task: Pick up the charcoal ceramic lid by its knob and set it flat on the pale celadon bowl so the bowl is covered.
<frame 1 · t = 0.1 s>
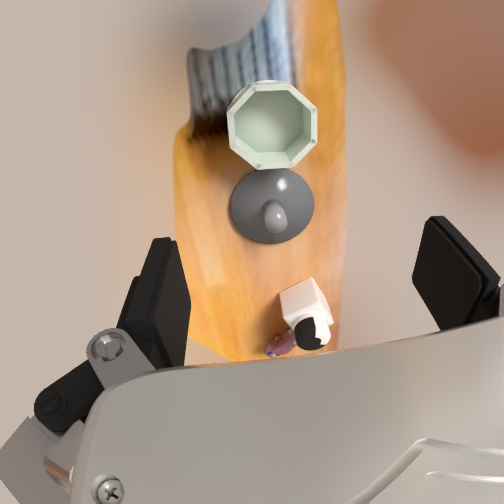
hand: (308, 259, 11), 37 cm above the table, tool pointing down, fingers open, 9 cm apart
video game controller: (284, 333, 68), on the table
lid: (272, 205, 51), on the table
medicine bottle: (302, 294, 62), on the table
bowl: (268, 118, 43), on the table
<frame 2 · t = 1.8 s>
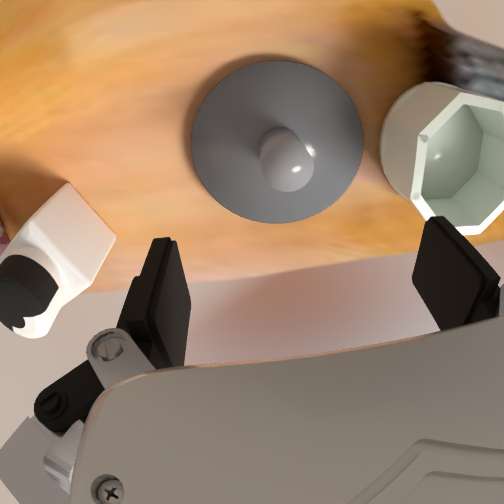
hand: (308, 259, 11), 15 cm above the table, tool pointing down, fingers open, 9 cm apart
lid: (278, 143, 24), on the table
medicine bottle: (73, 227, 27), on the table
bowl: (436, 145, 23), on the table
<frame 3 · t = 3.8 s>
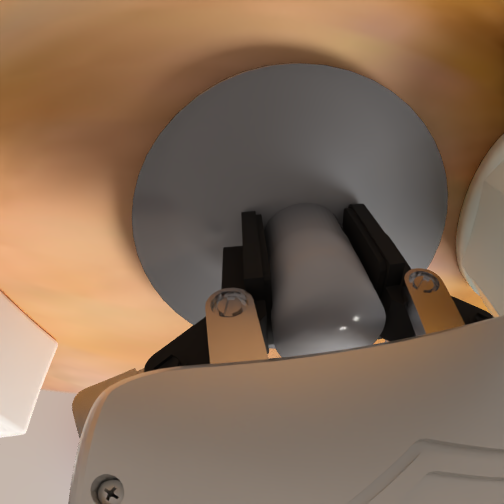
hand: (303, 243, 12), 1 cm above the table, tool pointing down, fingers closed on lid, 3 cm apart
lid: (297, 224, 13), on the table, touching gripper
medicine bottle: (4, 323, 17), on the table
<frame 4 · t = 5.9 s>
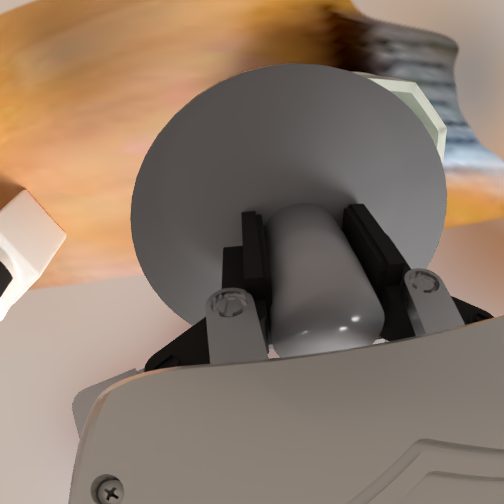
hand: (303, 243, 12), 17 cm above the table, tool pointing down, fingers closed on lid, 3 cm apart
lid: (296, 225, 13), point 15 cm above the table, touching gripper
medicine bottle: (31, 228, 29), on the table
bowl: (355, 134, 26), on the table
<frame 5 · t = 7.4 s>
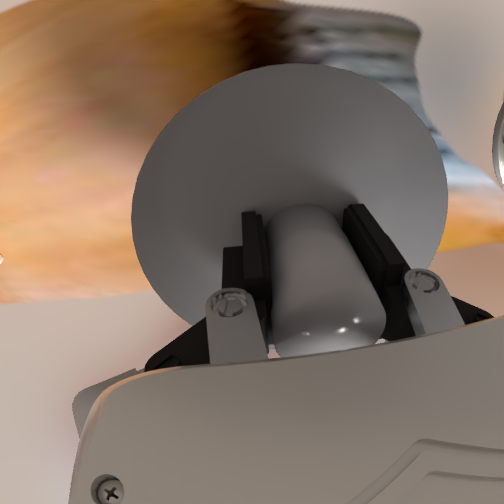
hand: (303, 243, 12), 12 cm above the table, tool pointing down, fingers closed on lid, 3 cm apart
lid: (297, 225, 13), point 11 cm above the table, touching gripper
when the fingers open (9 cm above the table, at t = 8.3 s): lid drops 1 cm, resting on bowl.
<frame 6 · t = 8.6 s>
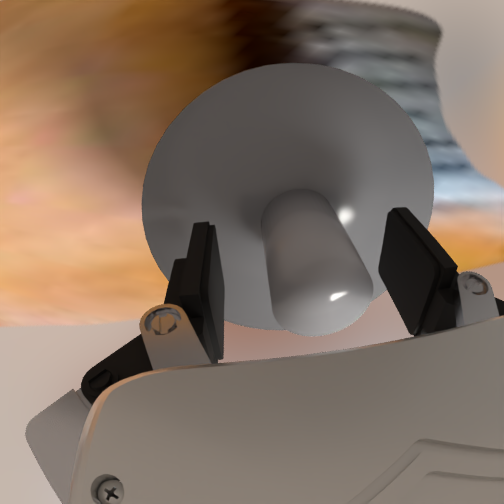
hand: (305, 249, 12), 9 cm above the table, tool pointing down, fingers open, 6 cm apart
lid: (293, 210, 14), point 6 cm above the table, touching bowl
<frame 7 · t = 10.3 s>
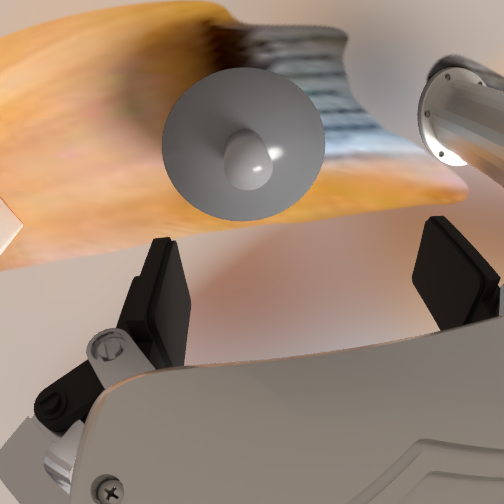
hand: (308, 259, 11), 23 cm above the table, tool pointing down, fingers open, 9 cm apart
lid: (243, 144, 26), point 6 cm above the table, touching bowl
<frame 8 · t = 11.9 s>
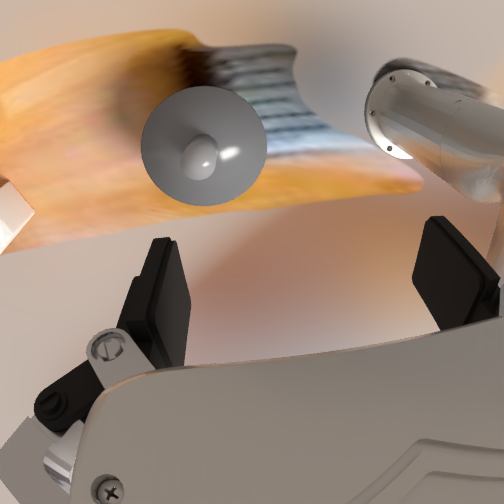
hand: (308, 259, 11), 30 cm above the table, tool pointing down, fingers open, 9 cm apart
lid: (203, 146, 33), point 6 cm above the table, touching bowl
medicine bottle: (13, 207, 41), on the table
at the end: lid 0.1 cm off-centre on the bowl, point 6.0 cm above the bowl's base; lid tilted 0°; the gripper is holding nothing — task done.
